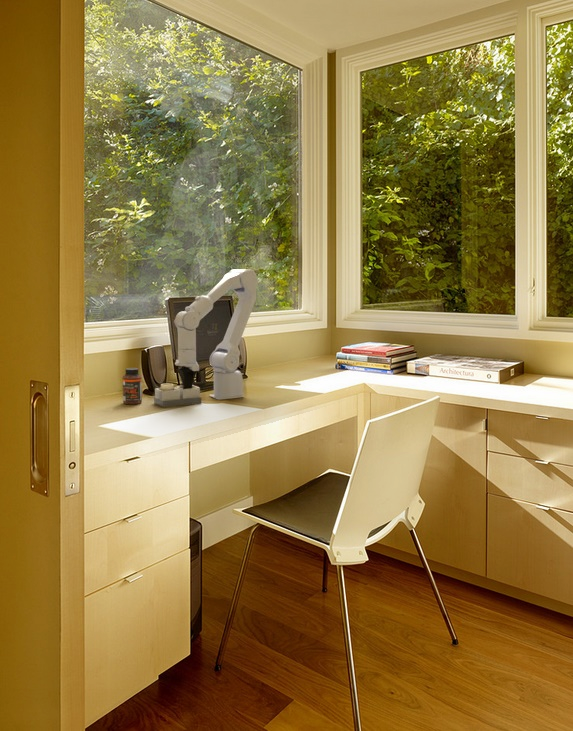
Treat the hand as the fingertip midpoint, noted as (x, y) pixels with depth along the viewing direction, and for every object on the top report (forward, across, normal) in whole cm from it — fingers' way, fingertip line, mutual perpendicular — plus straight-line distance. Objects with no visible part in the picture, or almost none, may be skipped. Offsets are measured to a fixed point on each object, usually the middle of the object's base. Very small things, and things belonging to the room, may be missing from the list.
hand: (187, 390), depth 202 cm
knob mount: (+4, 0, -4) cm, 5 cm away
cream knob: (-1, 0, -7) cm, 7 cm away
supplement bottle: (+4, -8, -16) cm, 18 cm away
